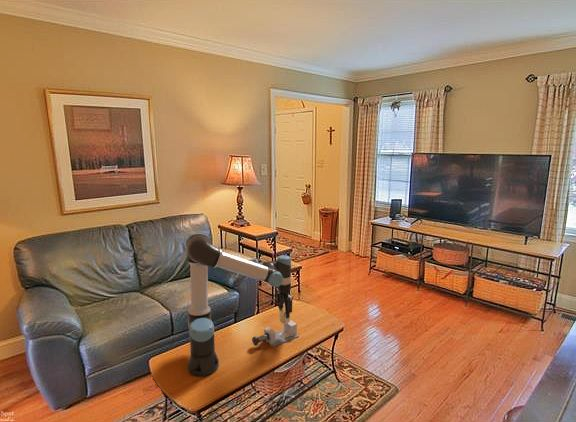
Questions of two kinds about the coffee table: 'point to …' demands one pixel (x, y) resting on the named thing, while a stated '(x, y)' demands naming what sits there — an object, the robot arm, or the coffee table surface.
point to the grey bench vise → (281, 334)
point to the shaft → (260, 339)
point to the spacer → (283, 316)
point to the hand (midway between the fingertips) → (284, 320)
